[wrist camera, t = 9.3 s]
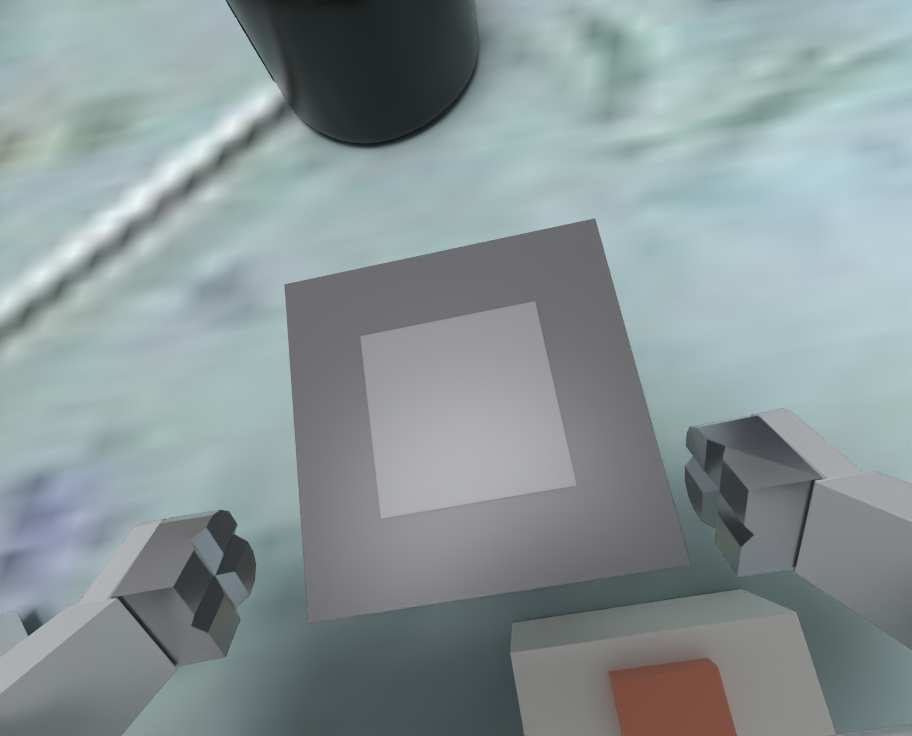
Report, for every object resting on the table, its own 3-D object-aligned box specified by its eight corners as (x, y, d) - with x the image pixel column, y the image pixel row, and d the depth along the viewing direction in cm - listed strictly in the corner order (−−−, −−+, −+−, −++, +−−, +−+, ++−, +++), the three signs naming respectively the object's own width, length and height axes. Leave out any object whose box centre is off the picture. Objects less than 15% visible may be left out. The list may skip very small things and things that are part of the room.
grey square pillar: (440, 543, 15) (304, 625, 6) (420, 406, 17) (282, 282, 7) (581, 520, 15) (693, 566, 5) (550, 382, 16) (596, 216, 7)
